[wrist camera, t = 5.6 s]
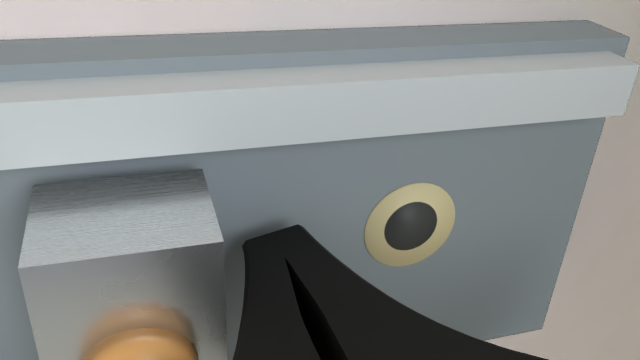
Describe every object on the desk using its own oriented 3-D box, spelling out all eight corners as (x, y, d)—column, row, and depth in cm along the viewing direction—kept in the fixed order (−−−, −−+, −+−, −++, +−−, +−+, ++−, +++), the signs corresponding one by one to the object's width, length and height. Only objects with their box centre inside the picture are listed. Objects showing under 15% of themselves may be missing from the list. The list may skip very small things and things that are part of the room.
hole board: (587, 20, 16) (750, 86, 12) (514, 297, 20) (614, 412, 16) (-619, 60, 9) (-1134, 230, 5) (-339, 450, 14) (-514, 699, 10)
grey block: (199, 160, 12) (229, 264, 9) (209, 347, 15) (235, 475, 12) (34, 175, 11) (12, 294, 8) (74, 371, 14) (67, 514, 11)
